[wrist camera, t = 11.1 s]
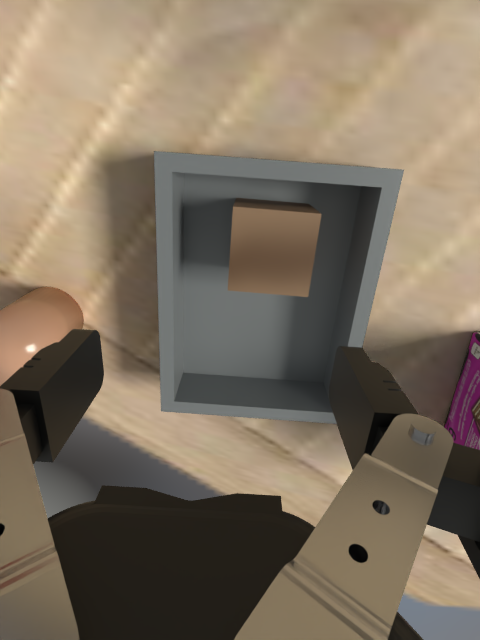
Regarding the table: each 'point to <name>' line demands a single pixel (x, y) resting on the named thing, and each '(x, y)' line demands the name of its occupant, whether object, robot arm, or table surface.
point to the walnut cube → (272, 247)
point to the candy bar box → (467, 400)
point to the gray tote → (258, 308)
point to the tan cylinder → (35, 326)
